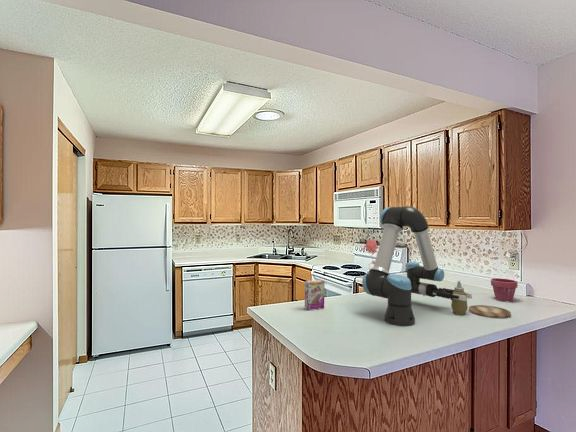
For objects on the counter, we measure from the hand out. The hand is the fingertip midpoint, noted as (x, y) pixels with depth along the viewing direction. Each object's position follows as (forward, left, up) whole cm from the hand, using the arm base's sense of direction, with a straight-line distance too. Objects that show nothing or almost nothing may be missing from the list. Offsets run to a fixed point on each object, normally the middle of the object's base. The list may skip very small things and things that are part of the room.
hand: (468, 297), depth 173 cm
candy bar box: (-85, +5, -10) cm, 85 cm away
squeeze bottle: (-4, +4, -10) cm, 11 cm away
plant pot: (+36, +37, -10) cm, 53 cm away
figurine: (-40, +97, -10) cm, 105 cm away
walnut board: (+13, +7, -10) cm, 18 cm away
